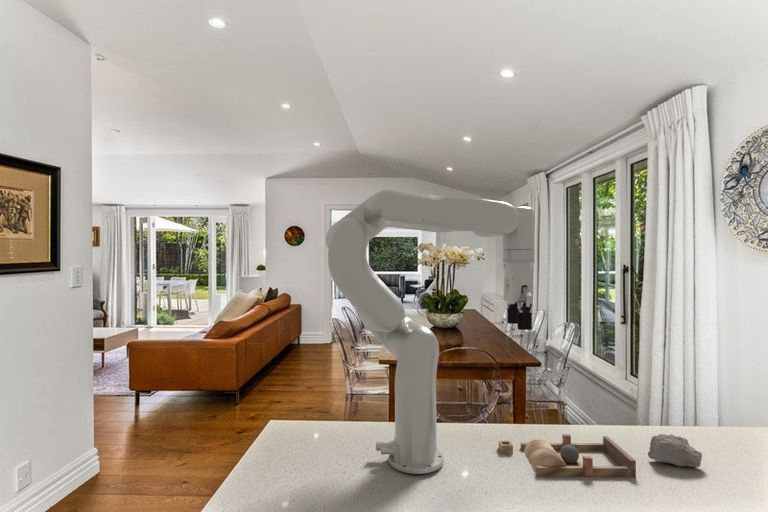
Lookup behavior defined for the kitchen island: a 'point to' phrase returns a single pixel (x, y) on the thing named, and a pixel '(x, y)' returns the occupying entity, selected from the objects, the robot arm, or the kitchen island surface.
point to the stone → (674, 451)
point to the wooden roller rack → (553, 465)
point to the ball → (569, 454)
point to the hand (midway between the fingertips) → (519, 326)
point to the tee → (505, 447)
